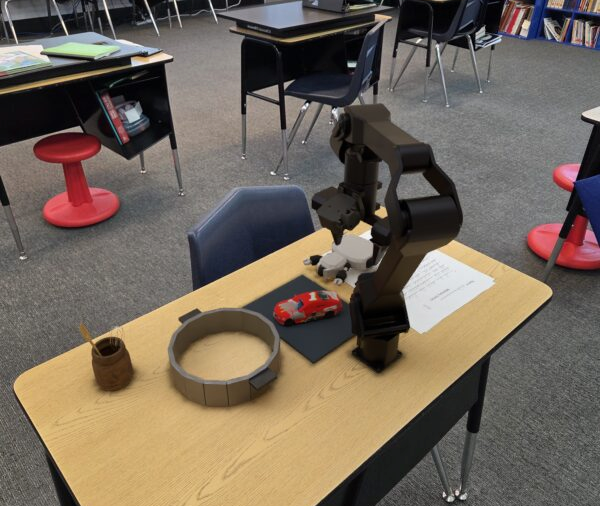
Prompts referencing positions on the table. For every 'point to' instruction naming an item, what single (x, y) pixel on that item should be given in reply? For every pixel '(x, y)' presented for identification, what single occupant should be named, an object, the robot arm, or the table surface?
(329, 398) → the table surface
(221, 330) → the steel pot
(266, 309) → the rubber mat
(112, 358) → the utensil holder
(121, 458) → the table surface
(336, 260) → the robot toy
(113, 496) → the table surface
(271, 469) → the table surface
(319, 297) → the race car
